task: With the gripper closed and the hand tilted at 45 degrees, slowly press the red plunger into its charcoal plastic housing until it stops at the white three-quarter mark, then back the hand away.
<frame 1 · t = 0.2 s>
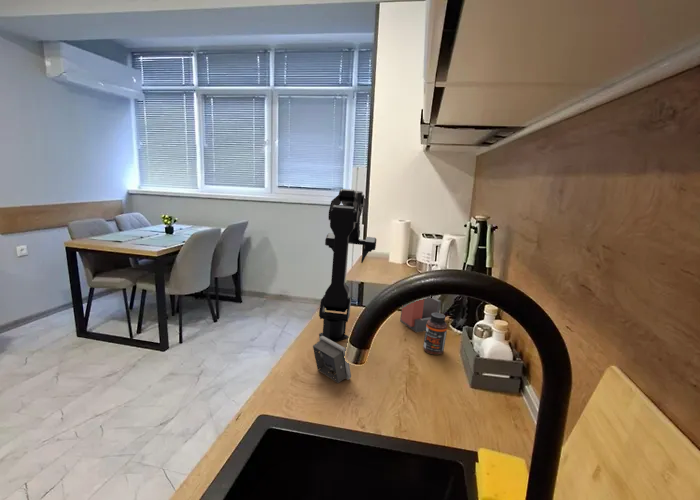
hand: (350, 261, 146), 16 cm above the kitchen counter, tool pointing down, fingers open, 9 cm apart
electrical switch: (331, 376, 94), on the kitchen counter
plunger: (412, 307, 127), point 7 cm above the kitchen counter, slide at 0.0 cm
housing: (418, 325, 130), on the kitchen counter
supplement bottle: (433, 351, 112), on the kitchen counter
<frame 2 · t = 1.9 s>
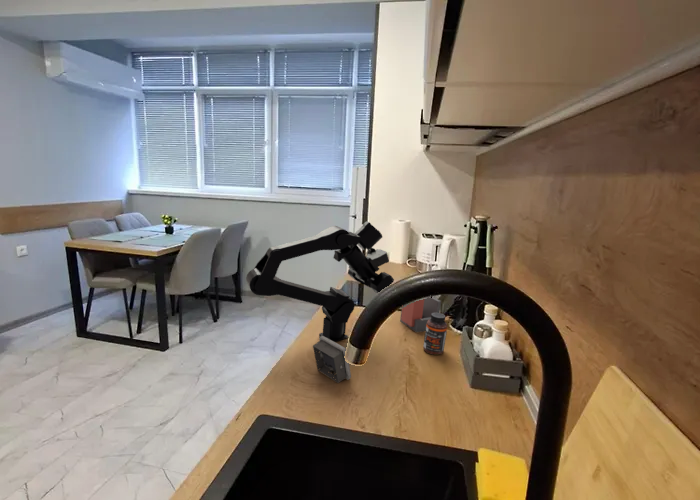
hand: (383, 293, 121), 13 cm above the kitchen counter, tool tilted 45°, fingers open, 9 cm apart
nothing on the kitchen counter moved.
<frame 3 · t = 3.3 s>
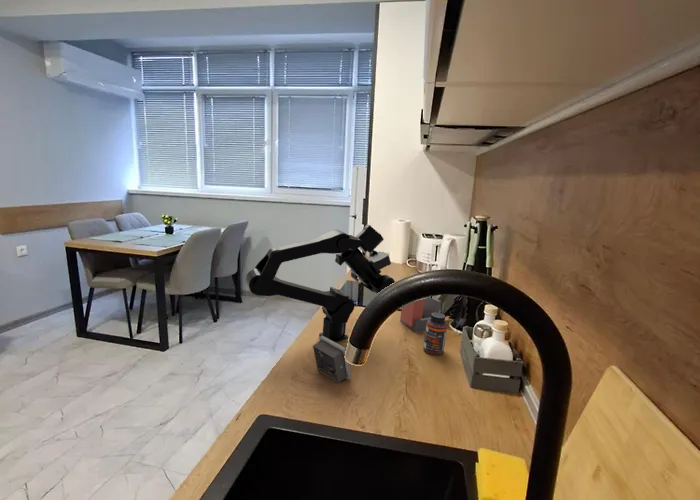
hand: (386, 295, 121), 12 cm above the kitchen counter, tool tilted 45°, fingers closed
nothing on the kitchen counter moved.
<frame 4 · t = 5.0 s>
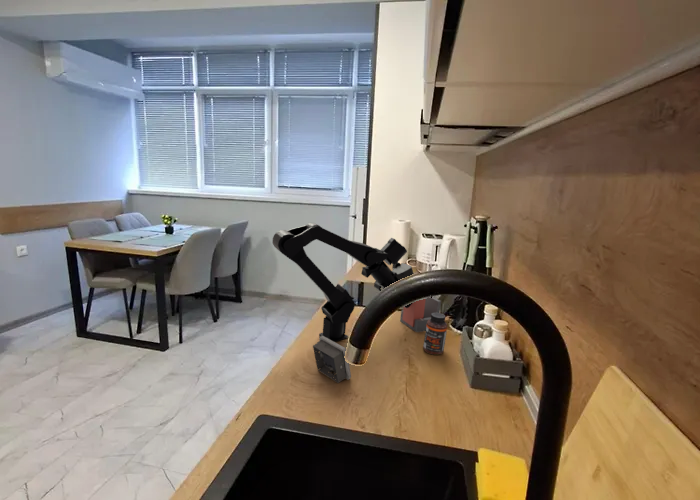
hand: (408, 305, 126), 8 cm above the kitchen counter, tool tilted 45°, fingers closed, pressing on plunger
plunger: (414, 307, 127), point 7 cm above the kitchen counter, slide at 0.5 cm, touching gripper
everything else where it was.
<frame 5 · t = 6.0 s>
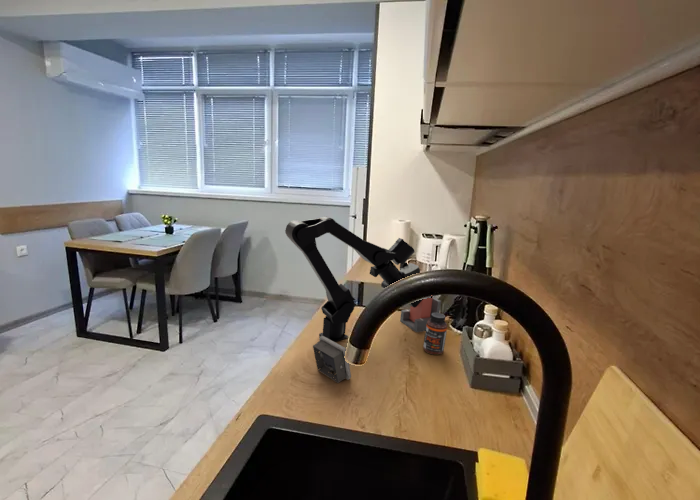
hand: (415, 304, 127), 8 cm above the kitchen counter, tool tilted 45°, fingers closed, pressing on plunger
plunger: (420, 306, 128), point 7 cm above the kitchen counter, slide at 3.4 cm, touching gripper
everything else where it was.
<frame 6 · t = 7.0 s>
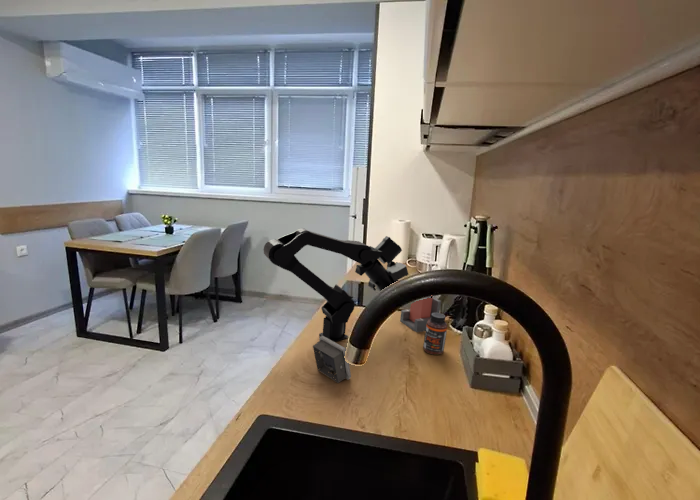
hand: (402, 304, 125), 8 cm above the kitchen counter, tool tilted 45°, fingers closed
plunger: (420, 306, 128), point 7 cm above the kitchen counter, slide at 3.4 cm
everything else where it was.
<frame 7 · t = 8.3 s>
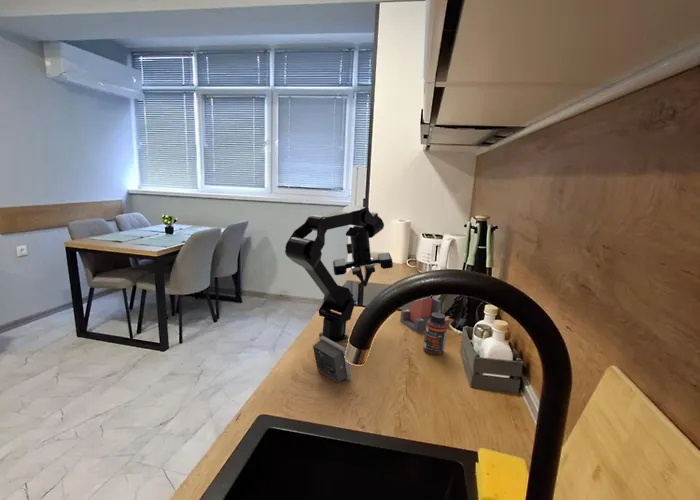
hand: (364, 285, 126), 13 cm above the kitchen counter, tool tilted 20°, fingers closed
nothing on the kitchen counter moved.
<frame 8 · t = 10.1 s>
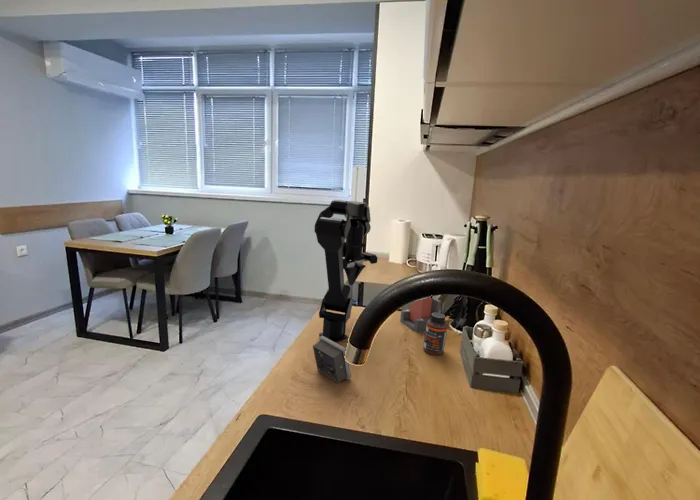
hand: (350, 284, 129), 12 cm above the kitchen counter, tool pointing down, fingers closed
nothing on the kitchen counter moved.
at the end: plunger slide at 3.4 cm; supplement bottle moved 0.2 cm from its start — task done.
